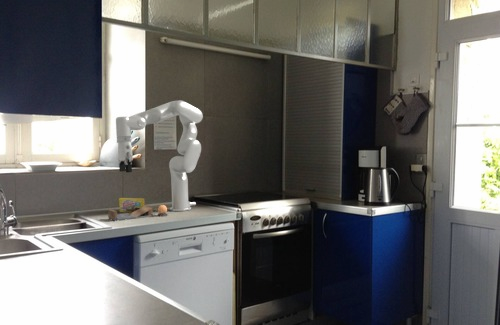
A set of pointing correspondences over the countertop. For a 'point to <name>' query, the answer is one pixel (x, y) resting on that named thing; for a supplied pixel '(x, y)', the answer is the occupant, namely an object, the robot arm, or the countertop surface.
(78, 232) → the countertop surface
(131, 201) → the candy box
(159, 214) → the cradle
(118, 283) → the countertop surface
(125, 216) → the runway
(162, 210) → the ball
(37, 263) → the countertop surface
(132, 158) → the robot arm
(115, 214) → the ramp
